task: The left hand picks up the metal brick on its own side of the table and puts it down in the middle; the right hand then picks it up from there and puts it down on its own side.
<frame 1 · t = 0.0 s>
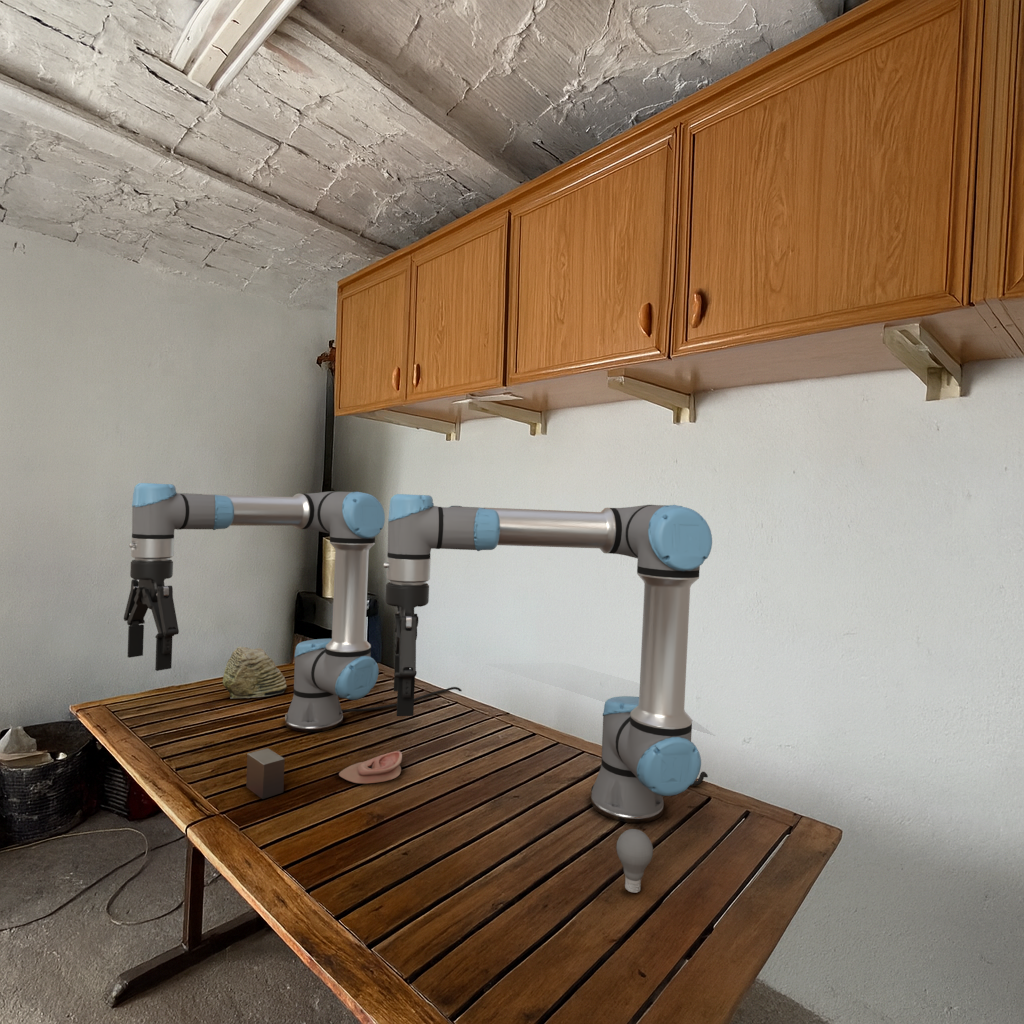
left hand: (148, 662, 129), 28 cm above the table, tool pointing down, fingers open, 13 cm apart
right hand: (402, 702, 111), 28 cm above the table, tool pointing down, fingers open, 13 cm apart
anatomical model: (370, 774, 146), on the table
fossil: (254, 694, 198), on the table
light bulb: (632, 891, 106), on the table
brick: (264, 789, 136), on the table
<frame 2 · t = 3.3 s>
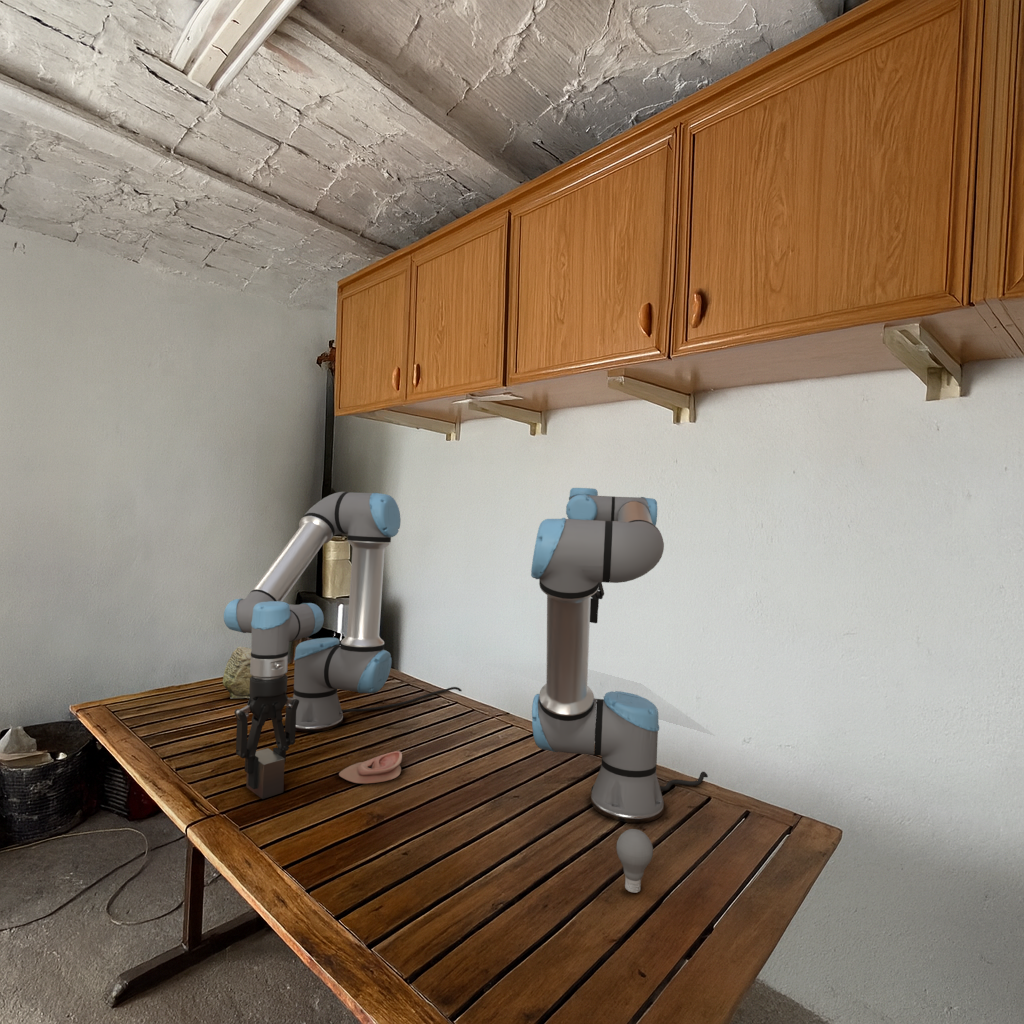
left hand: (264, 782, 136), 2 cm above the table, tool pointing down, fingers closed on brick, 5 cm apart
right hand: (577, 625, 169), 32 cm above the table, tool pointing down, fingers open, 13 cm apart
brick: (264, 789, 136), on the table, touching left hand
everything else where it was.
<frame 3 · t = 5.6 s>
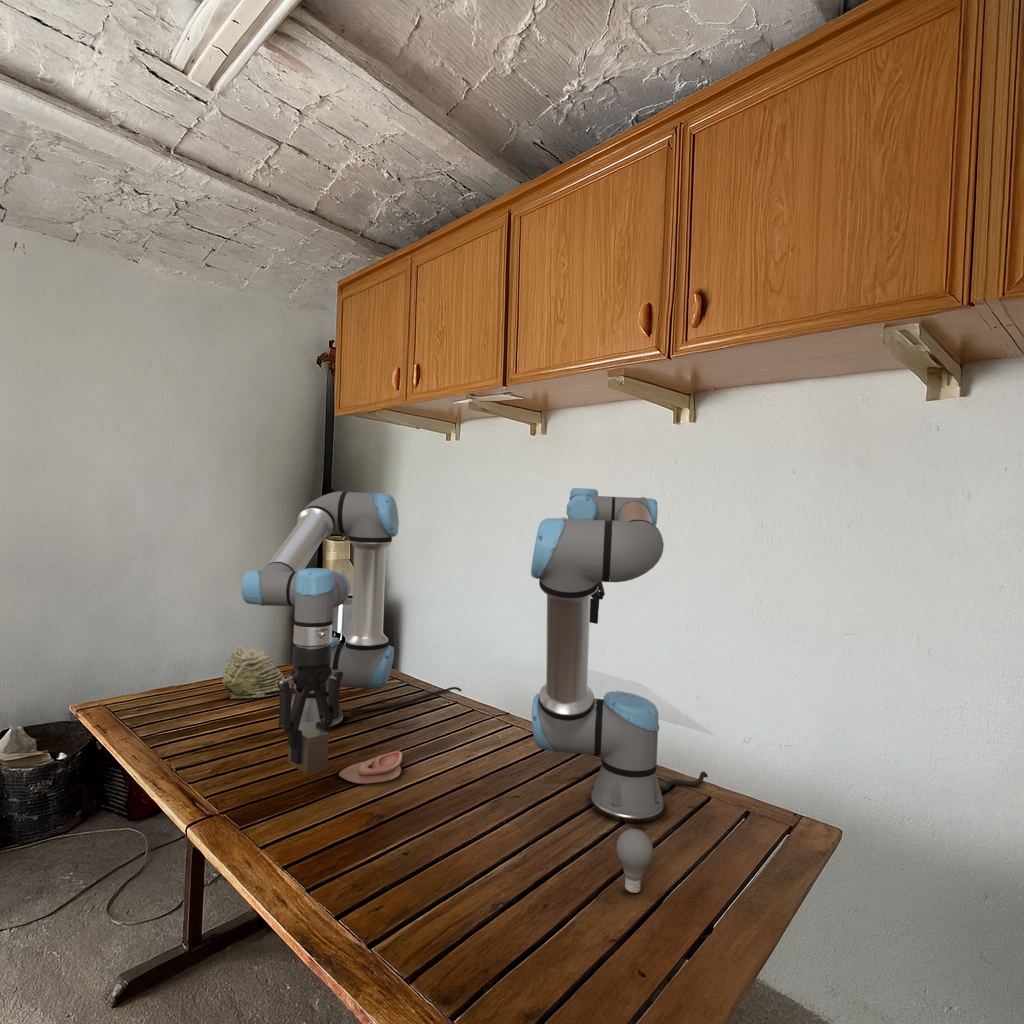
left hand: (308, 758, 129), 10 cm above the table, tool pointing down, fingers closed on brick, 5 cm apart
right hand: (578, 625, 169), 32 cm above the table, tool pointing down, fingers open, 13 cm apart
brick: (307, 765, 129), point 8 cm above the table, touching left hand
everything else where it was.
when the left hand's fingers open (3 cm above the table, at t = 7.9 s): brick drops 2 cm, on the table.
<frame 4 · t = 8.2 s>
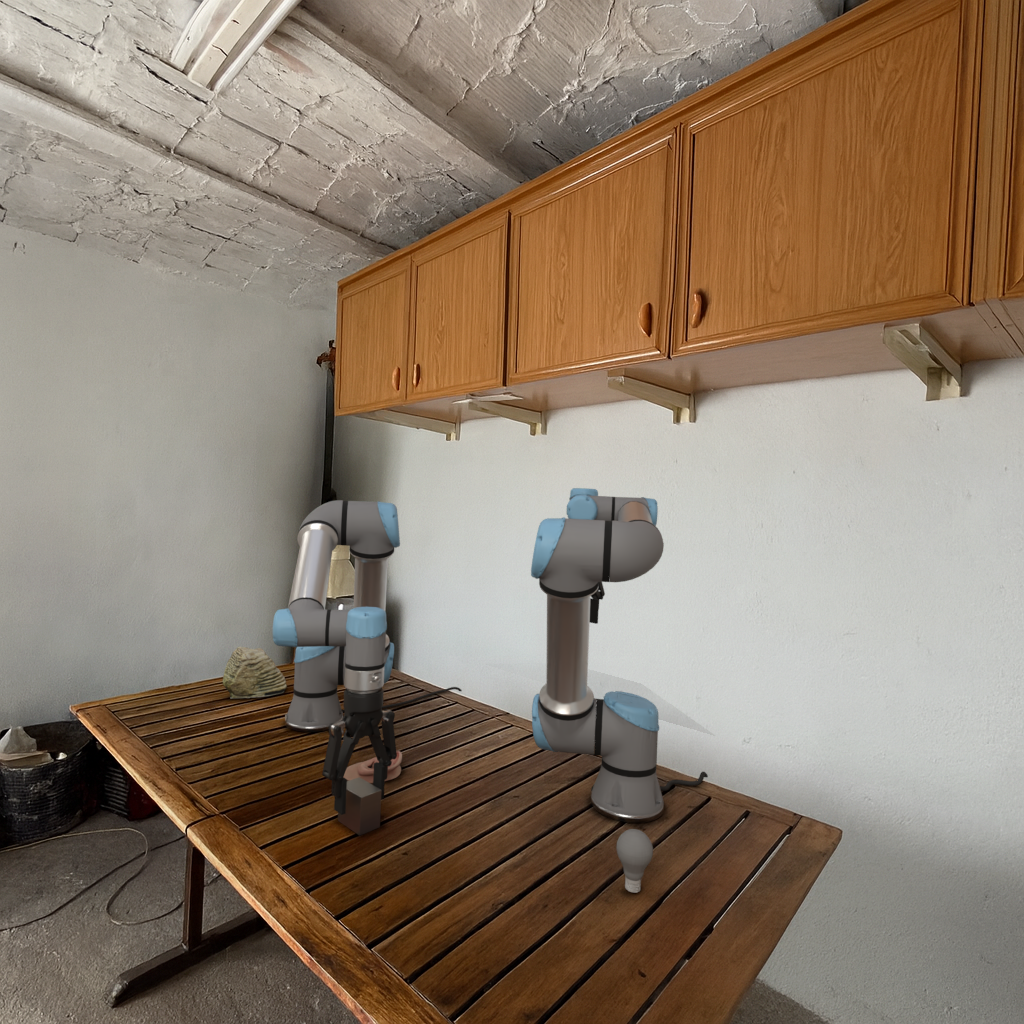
left hand: (359, 803, 123), 4 cm above the table, tool pointing down, fingers open, 8 cm apart
right hand: (578, 625, 169), 32 cm above the table, tool pointing down, fingers open, 13 cm apart
brick: (358, 823, 123), on the table
everything else where it was.
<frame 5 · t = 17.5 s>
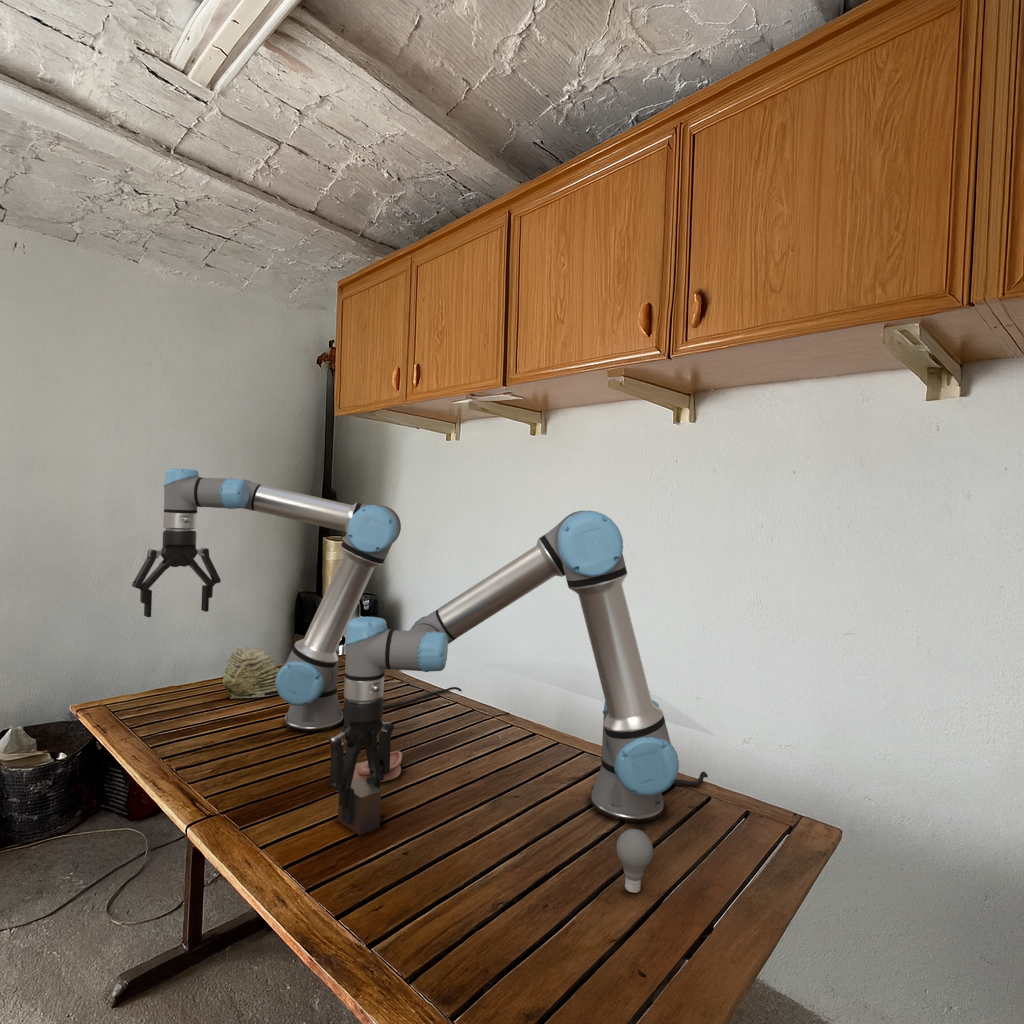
left hand: (177, 613, 160), 32 cm above the table, tool pointing down, fingers open, 13 cm apart
right hand: (359, 816, 123), 2 cm above the table, tool pointing down, fingers closed on brick, 5 cm apart
brick: (358, 823, 123), on the table, touching right hand
everything else where it was.
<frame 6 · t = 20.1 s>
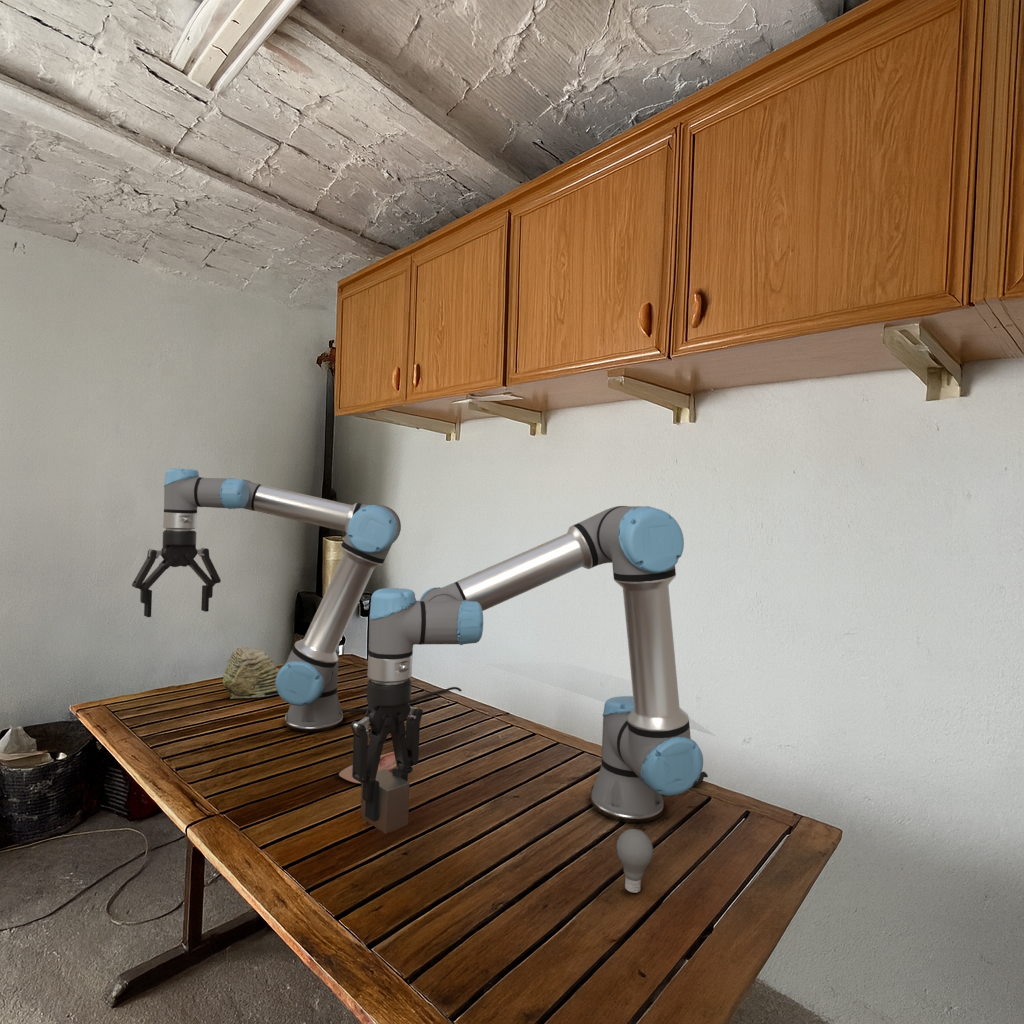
left hand: (177, 613, 160), 32 cm above the table, tool pointing down, fingers open, 13 cm apart
right hand: (384, 812, 110), 9 cm above the table, tool pointing down, fingers closed on brick, 5 cm apart
brick: (384, 820, 110), point 8 cm above the table, touching right hand
everything else where it was.
when the right hand's fingers open (3 cm above the table, at t = 23.1 s): brick drops 2 cm, on the table.
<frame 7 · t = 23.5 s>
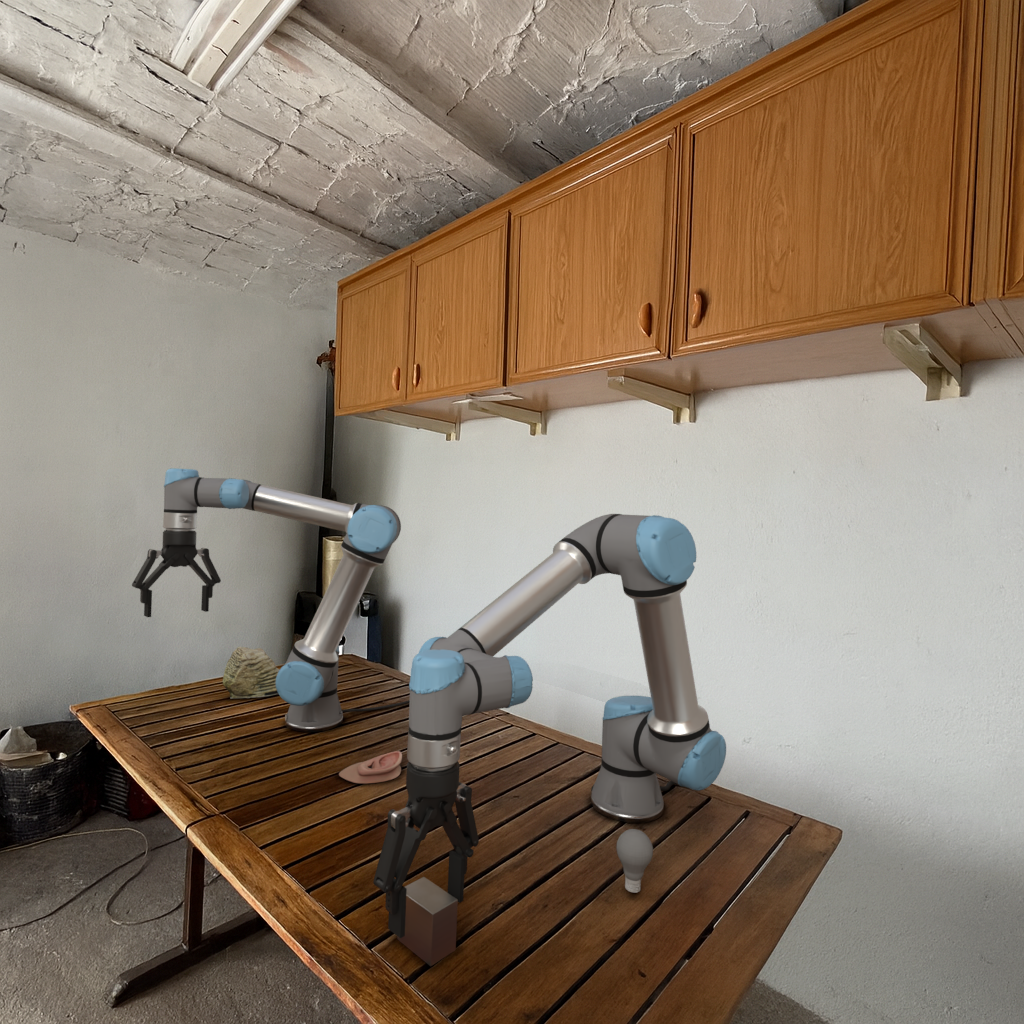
left hand: (177, 613, 160), 32 cm above the table, tool pointing down, fingers open, 13 cm apart
right hand: (427, 914, 91), 4 cm above the table, tool pointing down, fingers open, 10 cm apart
brick: (426, 944, 91), on the table
everything else where it was.
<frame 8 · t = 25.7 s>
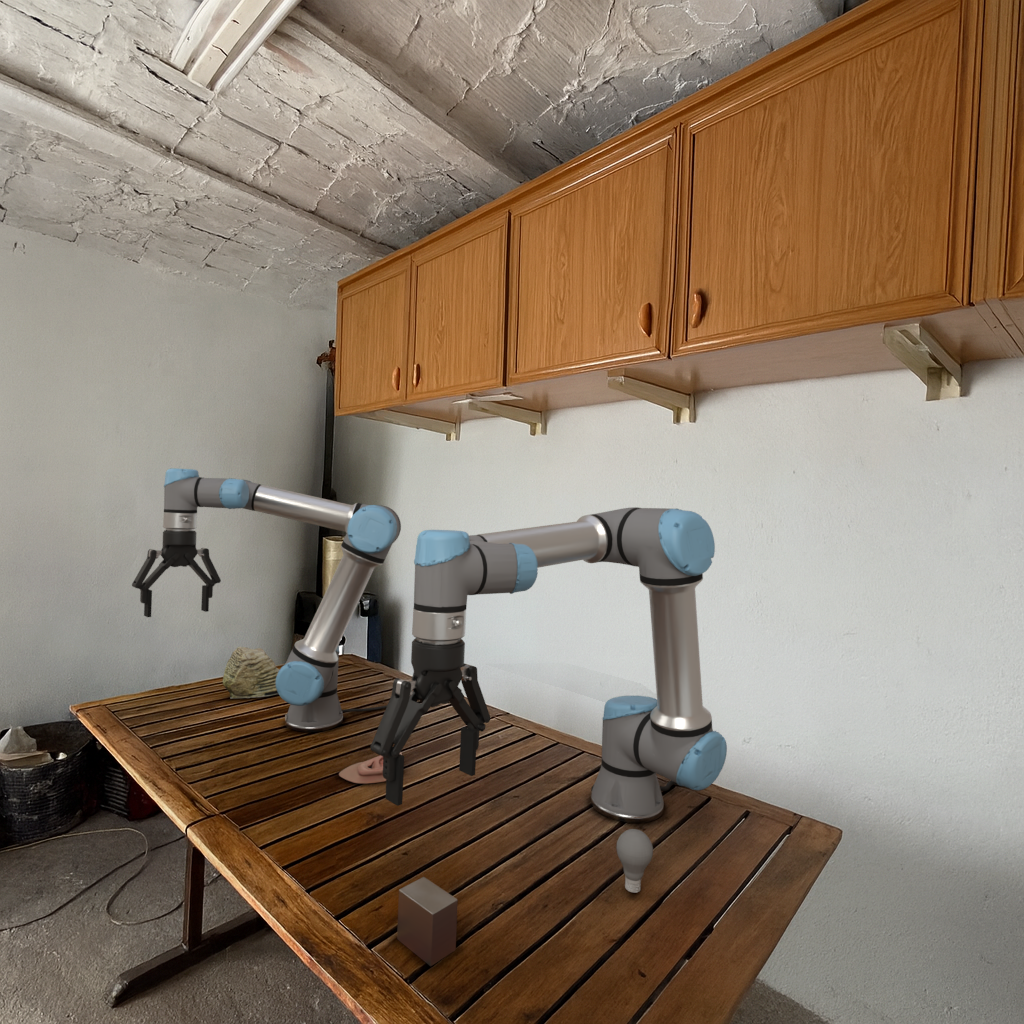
left hand: (177, 613, 160), 32 cm above the table, tool pointing down, fingers open, 13 cm apart
right hand: (432, 786, 91), 23 cm above the table, tool pointing down, fingers open, 13 cm apart
nothing on the table moved.
at the end: brick inside the target area (0.1 cm from its centre), on the table; brick tilted 0°; the two hands never held the brick at the same time; the left hand is holding nothing; the right hand is holding nothing; brick at rest at the end (0.0 cm/s) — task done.
